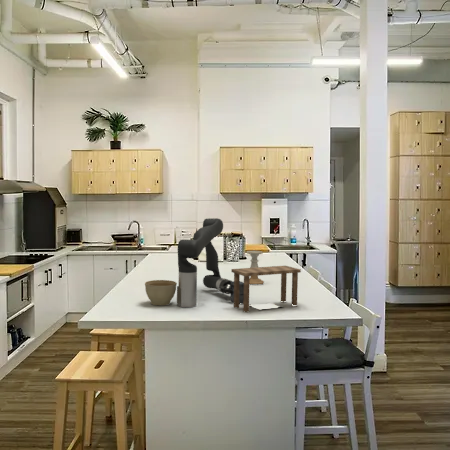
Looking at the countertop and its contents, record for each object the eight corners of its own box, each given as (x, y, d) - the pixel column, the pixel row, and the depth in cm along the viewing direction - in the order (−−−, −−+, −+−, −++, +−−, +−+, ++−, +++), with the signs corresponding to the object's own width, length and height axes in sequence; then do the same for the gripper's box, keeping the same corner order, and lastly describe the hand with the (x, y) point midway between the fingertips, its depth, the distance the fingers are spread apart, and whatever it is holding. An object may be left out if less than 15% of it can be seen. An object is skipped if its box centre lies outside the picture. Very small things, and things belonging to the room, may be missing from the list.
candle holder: (240, 282, 321) (241, 250, 320) (257, 281, 327) (257, 250, 326) (250, 285, 311) (251, 253, 309) (267, 284, 316) (268, 252, 315)
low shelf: (244, 312, 242) (245, 273, 240) (230, 306, 254) (231, 269, 253) (299, 306, 256) (300, 269, 255) (284, 301, 269) (285, 265, 267)
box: (230, 301, 266) (230, 281, 265) (239, 300, 269) (239, 280, 268) (237, 304, 259) (237, 284, 258) (246, 303, 262) (247, 283, 261)
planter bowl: (145, 307, 249) (145, 286, 248) (144, 300, 265) (144, 280, 264) (178, 306, 252) (178, 285, 251) (174, 299, 268) (175, 279, 267)
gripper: (213, 279, 274) (227, 285, 259) (236, 278, 280) (251, 283, 266) (213, 293, 274) (227, 299, 260) (236, 291, 281) (251, 297, 266)
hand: (239, 291), depth 263 cm, fingers open, 8 cm apart
